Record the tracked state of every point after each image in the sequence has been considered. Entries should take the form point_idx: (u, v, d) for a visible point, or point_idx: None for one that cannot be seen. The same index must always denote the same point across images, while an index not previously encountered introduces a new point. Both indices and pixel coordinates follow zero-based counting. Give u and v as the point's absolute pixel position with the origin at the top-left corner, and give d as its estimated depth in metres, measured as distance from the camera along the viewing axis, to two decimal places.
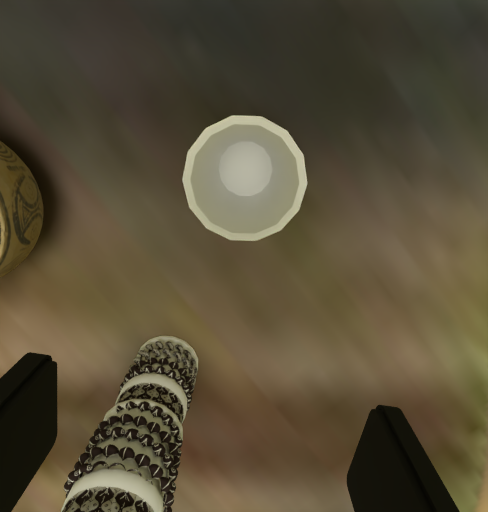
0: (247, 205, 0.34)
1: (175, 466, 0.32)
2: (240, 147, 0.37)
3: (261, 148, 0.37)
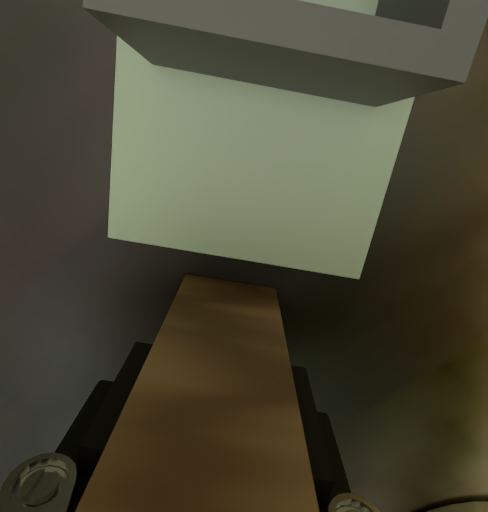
0: None
1: None
2: None
3: None
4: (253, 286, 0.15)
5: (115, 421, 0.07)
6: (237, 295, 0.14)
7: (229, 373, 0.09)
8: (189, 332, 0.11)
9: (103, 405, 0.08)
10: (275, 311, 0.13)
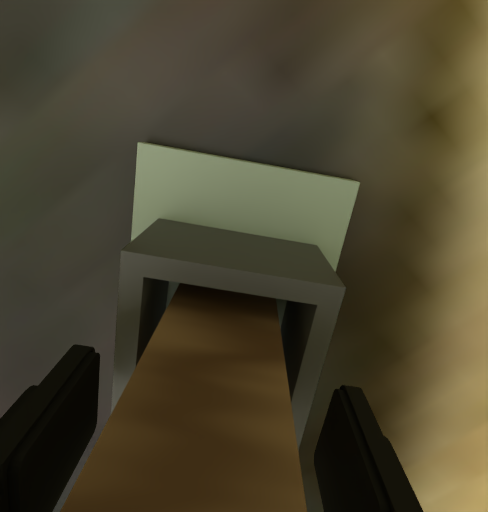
0: None
1: None
2: None
3: None
4: None
5: (25, 432, 0.07)
6: None
7: (228, 338, 0.11)
8: (194, 306, 0.12)
9: (16, 414, 0.07)
10: None
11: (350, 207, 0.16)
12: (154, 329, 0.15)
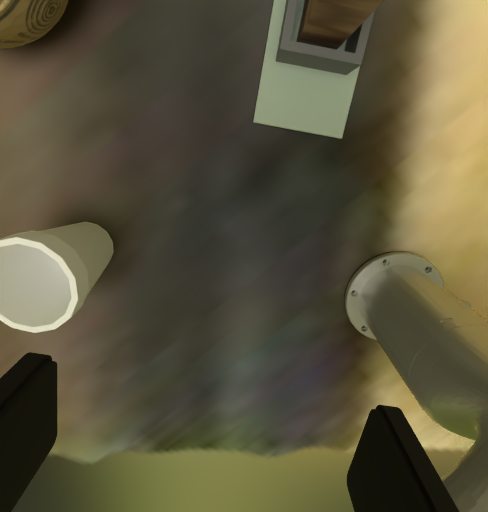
0: (41, 260, 0.39)
1: None
2: None
3: None
4: None
5: None
6: None
7: None
8: None
9: None
10: None
11: None
12: None
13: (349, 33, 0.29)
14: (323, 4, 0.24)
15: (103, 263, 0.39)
